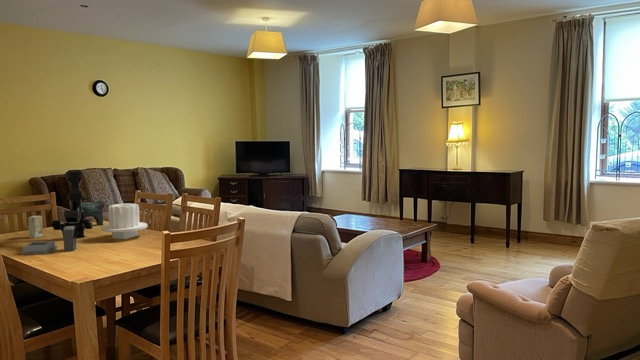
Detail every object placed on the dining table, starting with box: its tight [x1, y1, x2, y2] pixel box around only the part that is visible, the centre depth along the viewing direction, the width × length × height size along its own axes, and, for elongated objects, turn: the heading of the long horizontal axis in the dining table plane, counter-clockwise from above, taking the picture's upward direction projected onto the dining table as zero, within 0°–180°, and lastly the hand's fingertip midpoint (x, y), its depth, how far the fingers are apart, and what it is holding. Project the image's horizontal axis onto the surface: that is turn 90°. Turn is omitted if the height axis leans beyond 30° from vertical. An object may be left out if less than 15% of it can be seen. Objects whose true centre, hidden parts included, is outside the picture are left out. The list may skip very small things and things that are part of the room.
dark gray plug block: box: [62, 226, 77, 252], centre depth 245 cm, size 4×4×12 cm
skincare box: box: [27, 215, 44, 239], centre depth 279 cm, size 6×4×12 cm
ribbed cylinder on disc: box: [100, 202, 148, 240], centre depth 277 cm, size 25×25×19 cm
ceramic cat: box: [82, 195, 105, 227], centre depth 311 cm, size 20×6×20 cm, turn 135°
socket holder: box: [19, 240, 59, 256], centre depth 243 cm, size 13×13×4 cm
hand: (68, 238), depth 244 cm, fingers closed on dark gray plug block, 4 cm apart
